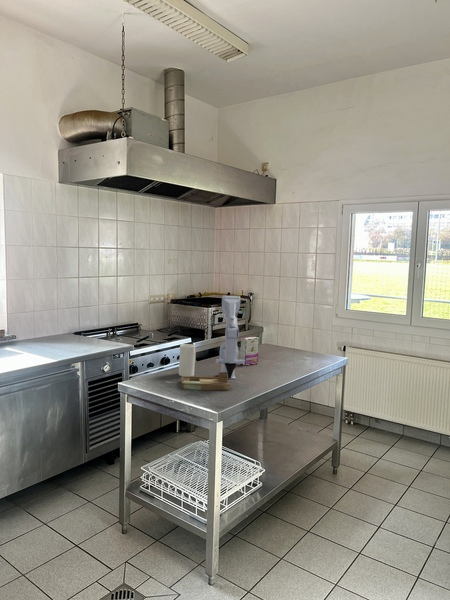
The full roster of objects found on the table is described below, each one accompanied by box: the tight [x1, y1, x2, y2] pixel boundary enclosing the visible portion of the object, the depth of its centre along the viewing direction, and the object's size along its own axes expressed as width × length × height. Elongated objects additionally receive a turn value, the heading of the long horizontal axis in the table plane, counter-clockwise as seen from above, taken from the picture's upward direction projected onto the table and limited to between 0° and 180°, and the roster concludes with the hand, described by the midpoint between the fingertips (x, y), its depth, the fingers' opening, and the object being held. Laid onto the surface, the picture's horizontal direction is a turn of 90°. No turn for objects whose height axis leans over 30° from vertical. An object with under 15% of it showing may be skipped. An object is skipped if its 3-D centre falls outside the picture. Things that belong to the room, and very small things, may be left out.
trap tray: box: [180, 376, 231, 391], centre depth 219 cm, size 13×23×3 cm, turn 97°
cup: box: [178, 343, 196, 377], centre depth 238 cm, size 8×8×16 cm
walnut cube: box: [217, 371, 228, 382], centre depth 223 cm, size 4×4×4 cm
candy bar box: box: [239, 336, 260, 365], centre depth 270 cm, size 11×5×16 cm, turn 131°
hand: (229, 377), depth 223 cm, fingers closed
